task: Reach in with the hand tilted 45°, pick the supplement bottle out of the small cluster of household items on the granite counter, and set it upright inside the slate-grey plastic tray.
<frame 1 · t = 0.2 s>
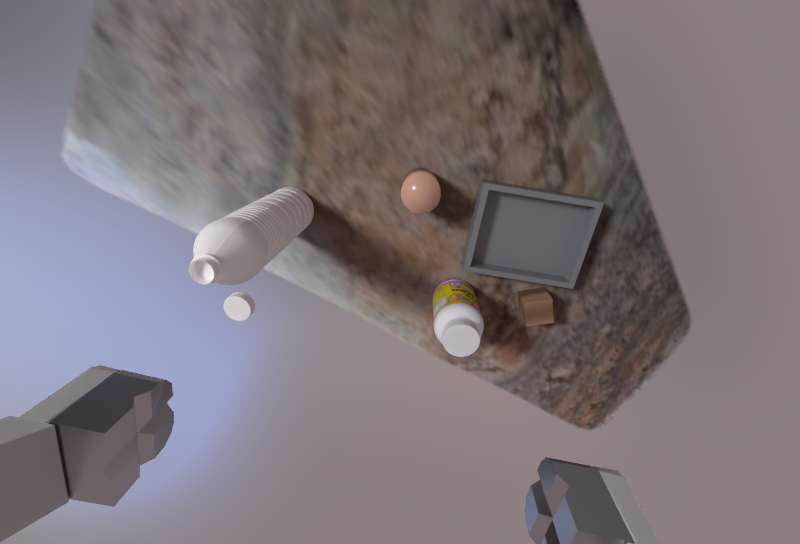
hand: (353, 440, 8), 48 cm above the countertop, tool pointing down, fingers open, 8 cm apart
walnut block: (531, 300, 59), on the countertop
water bottle: (298, 214, 56), on the countertop
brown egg: (420, 186, 53), on the countertop
supplement bottle: (453, 296, 59), on the countertop
tray: (525, 232, 55), on the countertop
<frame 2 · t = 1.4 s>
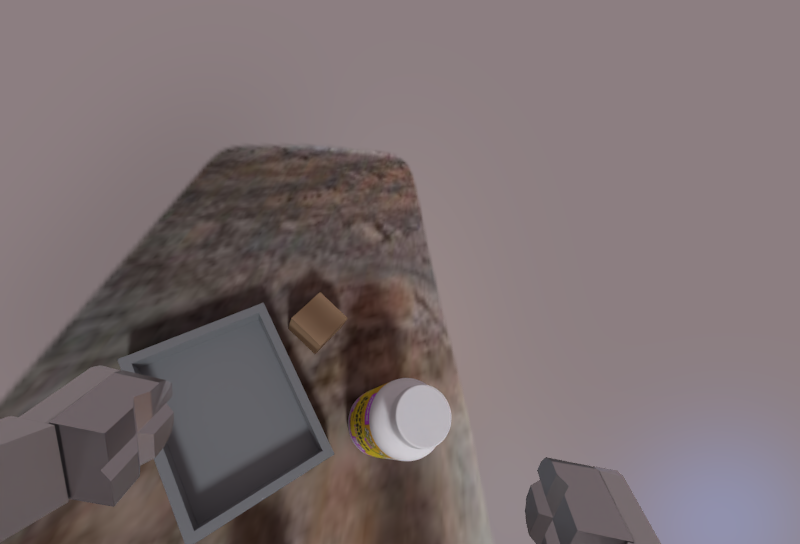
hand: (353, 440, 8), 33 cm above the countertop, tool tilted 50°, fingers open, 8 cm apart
walnut block: (314, 328, 42), on the countertop
supplement bottle: (376, 422, 40), on the countertop
tray: (231, 411, 36), on the countertop
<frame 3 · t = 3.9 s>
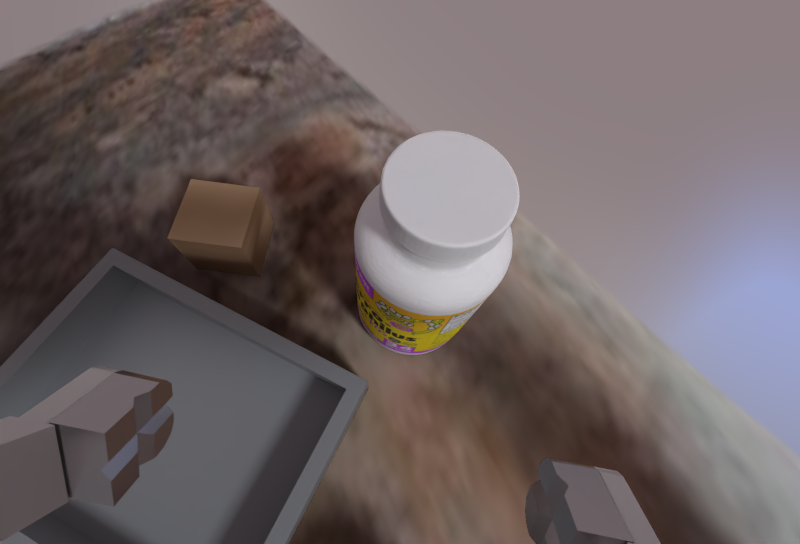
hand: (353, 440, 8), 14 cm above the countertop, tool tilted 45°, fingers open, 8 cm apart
walnut block: (237, 245, 25), on the countertop
supplement bottle: (409, 306, 24), on the countertop
tray: (180, 428, 20), on the countertop
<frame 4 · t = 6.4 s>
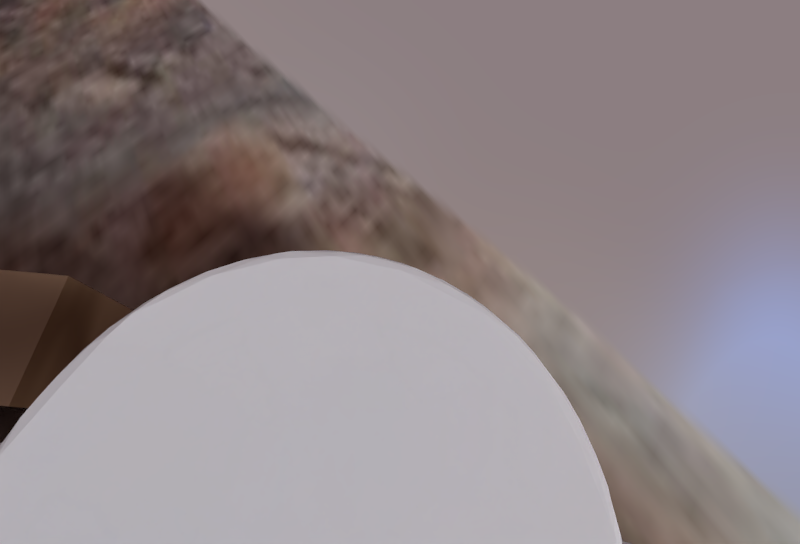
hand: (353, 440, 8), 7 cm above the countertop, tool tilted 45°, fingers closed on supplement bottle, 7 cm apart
walnut block: (68, 356, 15), on the countertop
supplement bottle: (356, 456, 14), on the countertop, touching gripper
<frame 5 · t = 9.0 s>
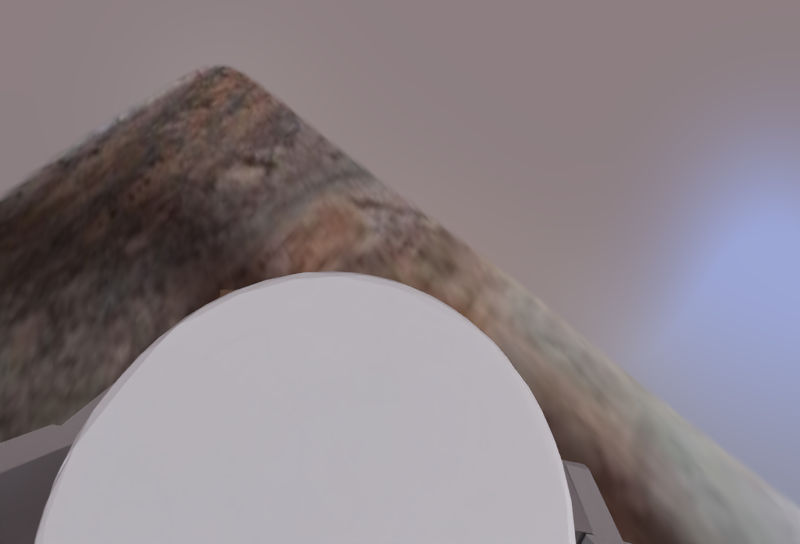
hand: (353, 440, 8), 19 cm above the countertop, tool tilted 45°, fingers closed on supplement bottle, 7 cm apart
supplement bottle: (360, 451, 15), point 11 cm above the countertop, touching gripper
when the fingers open (9 cm above the countertop, at t = 12.0 s): supplement bottle stays where it is, resting on tray.
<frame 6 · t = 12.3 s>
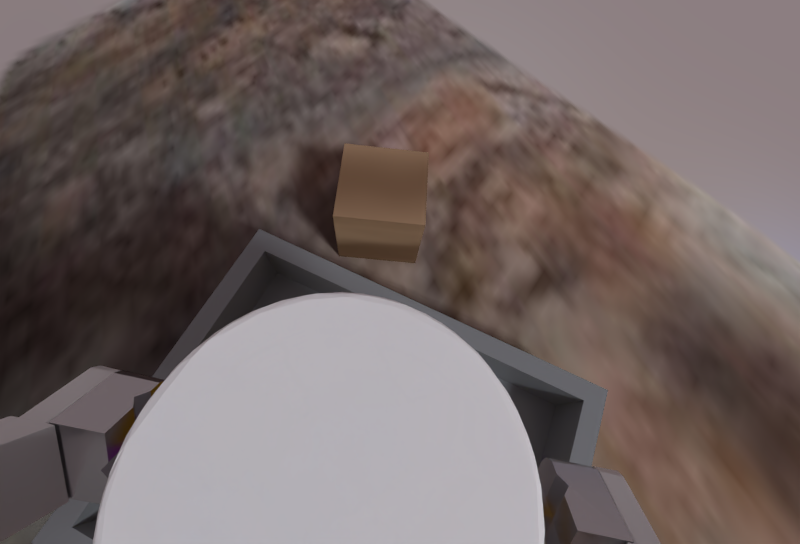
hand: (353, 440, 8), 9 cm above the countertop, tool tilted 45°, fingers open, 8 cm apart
walnut block: (380, 227, 21), on the countertop
supplement bottle: (357, 450, 16), resting on tray
tray: (356, 453, 16), on the countertop
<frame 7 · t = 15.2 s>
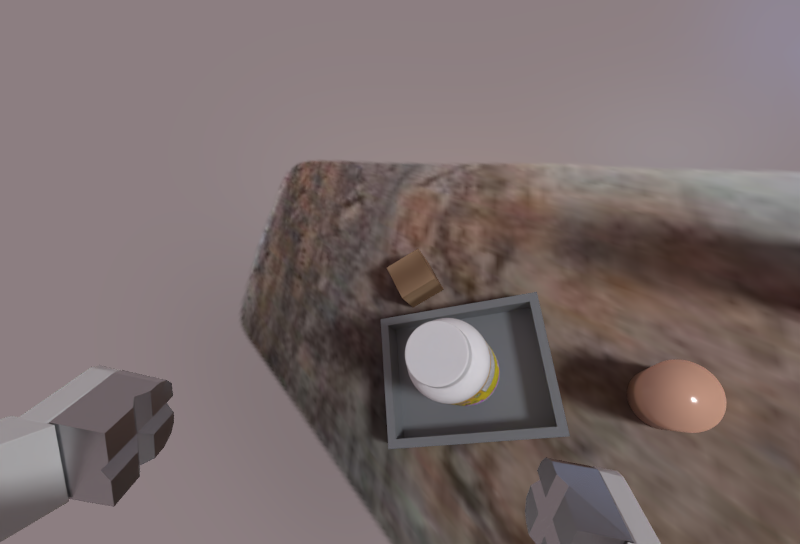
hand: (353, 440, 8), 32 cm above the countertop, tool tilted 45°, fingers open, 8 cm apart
walnut block: (420, 284, 44), on the countertop
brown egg: (660, 398, 33), on the countertop
supplement bottle: (467, 371, 38), resting on tray
tray: (468, 373, 38), on the countertop
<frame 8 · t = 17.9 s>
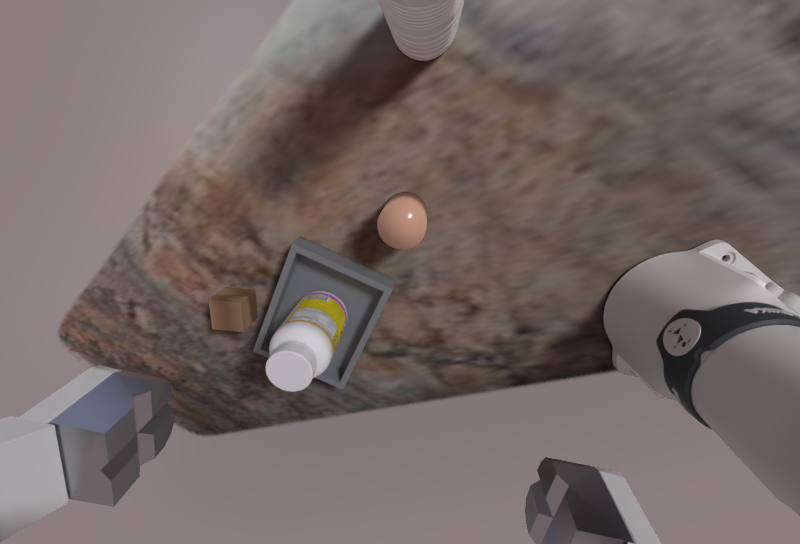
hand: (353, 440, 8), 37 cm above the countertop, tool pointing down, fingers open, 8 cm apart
walnut block: (241, 302, 50), on the countertop
water bottle: (413, 29, 38), on the countertop
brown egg: (405, 213, 44), on the countertop
supplement bottle: (323, 312, 49), resting on tray
tray: (325, 310, 49), on the countertop
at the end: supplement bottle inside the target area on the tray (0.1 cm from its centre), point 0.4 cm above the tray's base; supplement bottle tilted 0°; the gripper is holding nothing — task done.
